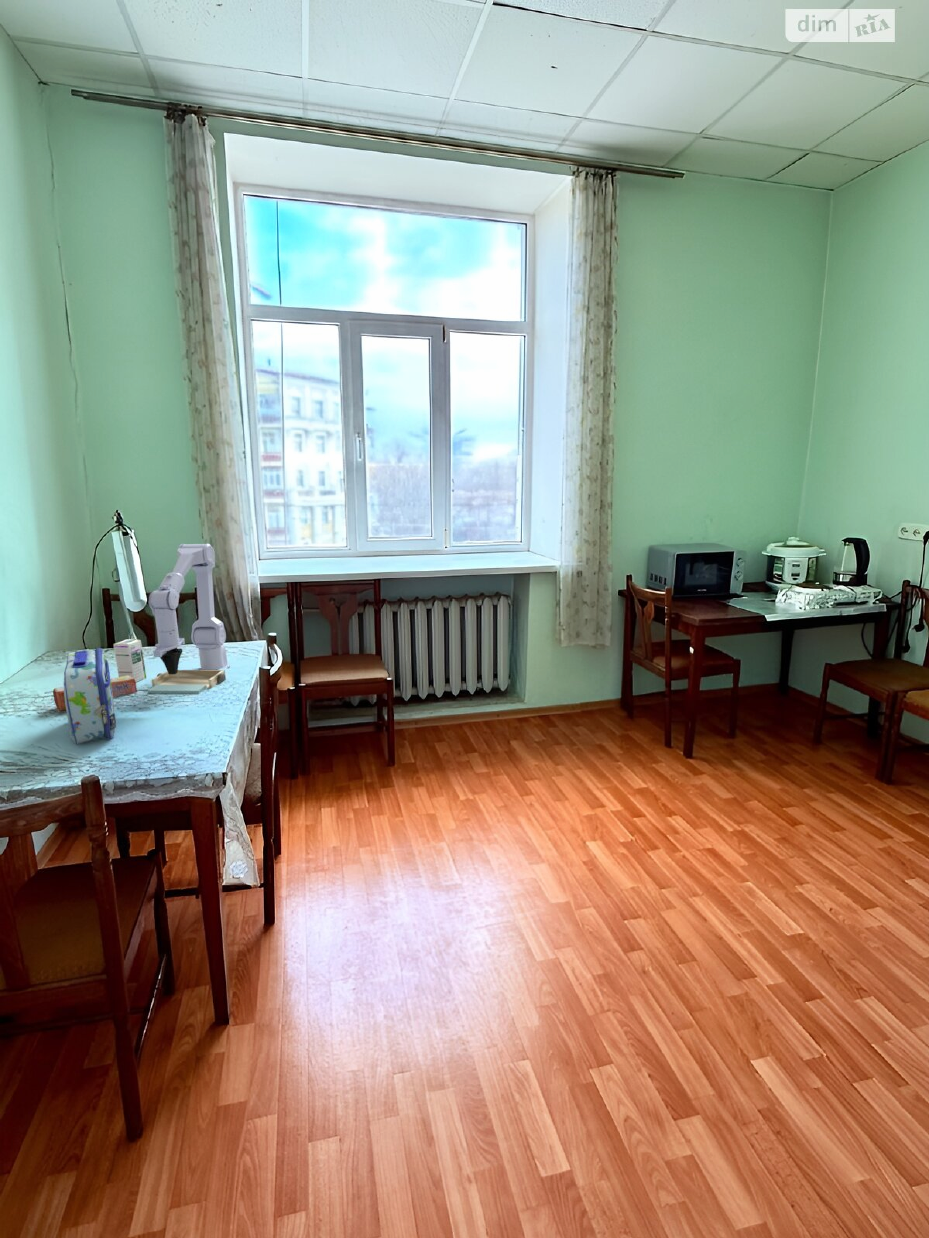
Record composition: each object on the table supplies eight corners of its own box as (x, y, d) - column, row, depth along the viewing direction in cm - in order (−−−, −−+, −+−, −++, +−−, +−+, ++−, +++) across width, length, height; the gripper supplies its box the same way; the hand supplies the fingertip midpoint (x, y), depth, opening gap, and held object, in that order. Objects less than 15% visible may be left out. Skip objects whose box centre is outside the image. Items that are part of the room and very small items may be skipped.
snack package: (134, 692, 202) (131, 671, 201) (138, 697, 197) (135, 676, 196) (55, 707, 190) (51, 686, 188) (58, 714, 185) (54, 691, 183)
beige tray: (166, 681, 211) (165, 669, 210) (229, 681, 210) (227, 670, 209) (150, 691, 201) (148, 679, 201) (215, 692, 200) (214, 679, 199)
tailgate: (156, 684, 200) (147, 690, 196) (206, 684, 199) (198, 690, 194) (156, 687, 201) (148, 693, 196) (206, 687, 200) (199, 693, 195)
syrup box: (135, 687, 206) (129, 643, 202) (119, 686, 207) (112, 643, 203) (147, 682, 211) (141, 639, 208) (131, 681, 212) (125, 638, 209)
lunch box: (119, 742, 164) (107, 663, 159) (70, 752, 159) (56, 670, 154) (116, 710, 186) (105, 640, 181) (73, 718, 181) (61, 646, 176)
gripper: (166, 624, 199) (172, 666, 202) (141, 636, 185) (147, 681, 188) (189, 624, 199) (194, 666, 202) (164, 636, 185) (170, 681, 188)
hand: (172, 673), depth 195 cm, fingers closed
